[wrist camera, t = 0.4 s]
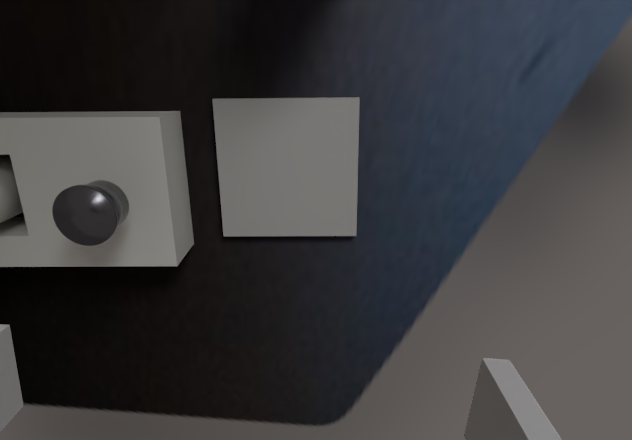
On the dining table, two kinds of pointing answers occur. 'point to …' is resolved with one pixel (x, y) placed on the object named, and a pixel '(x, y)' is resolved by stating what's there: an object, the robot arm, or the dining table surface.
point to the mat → (287, 165)
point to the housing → (91, 165)
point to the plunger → (90, 212)
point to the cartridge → (8, 190)
